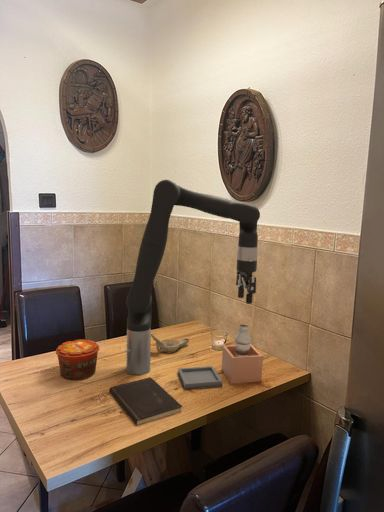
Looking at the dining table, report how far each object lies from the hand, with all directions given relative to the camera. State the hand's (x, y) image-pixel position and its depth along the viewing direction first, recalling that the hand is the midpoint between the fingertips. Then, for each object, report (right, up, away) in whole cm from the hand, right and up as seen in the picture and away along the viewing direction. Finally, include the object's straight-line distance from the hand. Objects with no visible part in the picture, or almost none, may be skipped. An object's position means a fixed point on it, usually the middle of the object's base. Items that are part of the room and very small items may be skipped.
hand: (244, 300), depth 143 cm
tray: (-17, -30, -1) cm, 35 cm away
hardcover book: (-36, -32, -17) cm, 52 cm away
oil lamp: (-30, -26, +27) cm, 48 cm away
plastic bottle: (-1, -30, +4) cm, 30 cm away
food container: (-64, -28, +2) cm, 70 cm away
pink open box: (-1, -30, +4) cm, 30 cm away
